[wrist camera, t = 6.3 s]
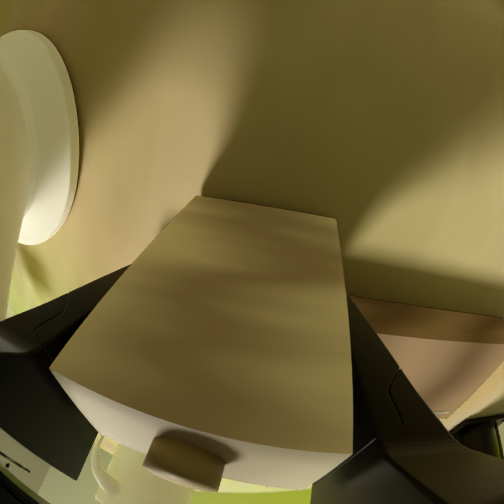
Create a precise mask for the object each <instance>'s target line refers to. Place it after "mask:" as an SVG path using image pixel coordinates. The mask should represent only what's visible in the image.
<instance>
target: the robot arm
mask: <svg viewBox="0 0 504 504" xmlns="http://www.w3.org/2000/svg"><path fill="white" fill-rule="evenodd" d="M130 265H131V264H130ZM130 265H128V266H126V267H124V268H121V269H119V270H117V271H115V272H112V273H110V274H108V275H106V276H103V277H101V278H99V279H97V280H95V281H92V282H90V283H88V284H86V285H84V286H82V287H79V288H77V289H75V290H73V291H71V292H69V294H68V293H66V294H64V295H62V296H60V297H58V298H56V299H54V300H51V301H49V302H47V303H45V304H42V305H40V306H38V307H35V308H33V309H30V310H28V311H25V312H23V313H20V314H18V315H15V316H13V317H10V318H8V319H5V320H3V321H0V504H50V503H48V502H47V501H46V500H44V499H43V498H42V497H40V496H39V495H38V491H39V489H40V487H41V485H42V483H43V481H44V479H45V477H46V475H47V473H48V471H49V469H50V467H51V466H52V467H54V468H55V469H57V470H59V471H60V472H62V473H64V474H65V475H67V476H69V477H70V478H72V479H74V480H77V479H78V477H79V475H80V472H81V470H82V468H83V465H84V463H85V461H86V458H87V456H88V454H89V452H90V449H91V447H92V445H93V443H94V441H95V439H96V436H97V434H98V431H97V430H96V429H95V428H94V427H93V425H92V424H91V423H90V422H89V421H88V420H87V418H86V417H85V416H84V415H83V414H82V412H81V411H80V410H79V409H78V407H77V406H76V405H75V404H74V402H73V401H72V400H71V398H70V397H69V396H68V394H67V393H66V392H65V390H64V389H63V388H62V386H61V385H60V383H59V382H58V381H57V379H56V378H55V376H54V375H53V373H52V372H51V370H50V369H49V367H50V366H51V364H52V363H53V362H54V360H55V359H56V357H57V356H58V355H59V353H60V352H61V351H62V349H63V348H64V347H65V345H66V344H67V343H68V341H69V340H70V339H71V337H72V336H73V335H74V333H75V332H76V331H77V329H78V328H79V327H80V326H81V324H82V323H83V322H84V320H85V319H86V318H87V317H88V315H89V314H90V313H91V312H92V310H93V309H94V308H95V307H96V305H97V304H98V303H99V302H100V301H101V299H102V298H103V297H104V296H105V295H106V293H107V292H108V291H109V290H110V289H111V287H112V286H113V285H114V284H115V283H116V281H117V280H118V279H119V278H120V277H121V276H122V274H123V273H124V272H125V271H126V270H127V269H128V268H129V266H130ZM346 298H347V308H348V319H349V331H350V345H351V362H352V386H353V454H352V455H351V456H349V457H348V458H347V459H346V460H344V461H343V462H342V463H340V464H339V465H338V466H336V467H335V468H334V469H332V470H331V471H330V472H328V473H327V474H326V475H324V476H323V477H321V478H320V479H319V480H317V481H316V482H314V483H313V484H312V485H313V486H312V493H311V503H310V504H504V456H503V450H502V445H501V440H500V435H499V430H498V426H499V425H500V424H502V423H503V422H504V415H500V416H494V417H488V418H482V419H475V420H468V421H465V422H463V423H462V424H461V425H459V426H458V427H457V428H456V429H454V430H453V431H452V432H451V433H449V432H448V430H447V429H446V428H445V427H444V425H443V424H442V423H441V421H440V420H439V419H438V418H437V416H436V415H435V414H434V413H433V411H432V410H431V409H430V408H429V406H428V405H427V404H426V403H425V401H424V400H423V399H422V397H421V396H420V395H419V393H418V392H417V391H416V389H415V388H414V387H413V385H412V384H411V382H410V381H409V379H408V378H407V377H406V375H405V374H404V372H403V371H402V369H399V368H400V366H399V365H398V363H397V362H396V360H395V359H394V358H393V356H392V355H391V353H390V352H389V350H388V349H387V347H386V346H385V345H384V343H383V342H382V340H381V339H380V337H379V336H378V335H377V333H376V332H375V330H374V329H373V328H372V326H371V325H370V323H369V322H368V321H367V319H366V318H365V316H364V315H363V314H362V312H361V311H360V310H359V308H358V307H357V305H356V304H355V303H354V301H353V300H352V299H351V297H350V296H349V295H348V293H347V292H346Z"/></svg>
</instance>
